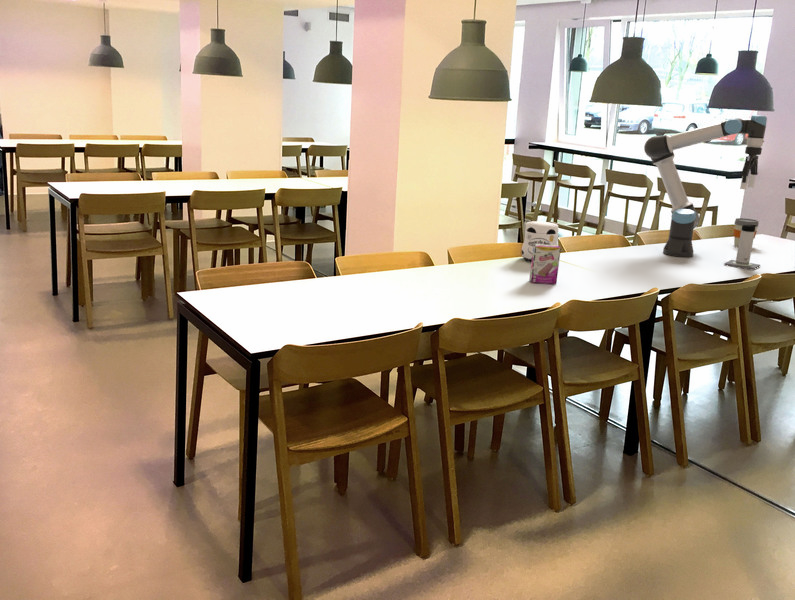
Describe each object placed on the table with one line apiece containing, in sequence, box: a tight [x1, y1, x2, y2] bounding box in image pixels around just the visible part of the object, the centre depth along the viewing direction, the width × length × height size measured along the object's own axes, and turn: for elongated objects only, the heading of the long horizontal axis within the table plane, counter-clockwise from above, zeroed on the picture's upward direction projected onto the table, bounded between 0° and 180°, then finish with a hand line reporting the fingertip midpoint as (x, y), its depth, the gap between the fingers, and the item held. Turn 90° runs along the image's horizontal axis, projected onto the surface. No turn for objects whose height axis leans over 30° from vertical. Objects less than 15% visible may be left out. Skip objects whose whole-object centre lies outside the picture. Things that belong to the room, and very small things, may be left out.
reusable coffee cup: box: [733, 217, 759, 247], centre depth 438 cm, size 13×13×15 cm
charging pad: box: [723, 259, 761, 270], centre depth 386 cm, size 14×12×1 cm
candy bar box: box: [528, 244, 562, 285], centre depth 328 cm, size 11×5×16 cm, turn 92°
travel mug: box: [735, 225, 758, 265], centre depth 383 cm, size 6×7×20 cm
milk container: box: [521, 220, 559, 262], centre depth 371 cm, size 17×17×18 cm
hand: (746, 188), depth 396 cm, fingers open, 13 cm apart
